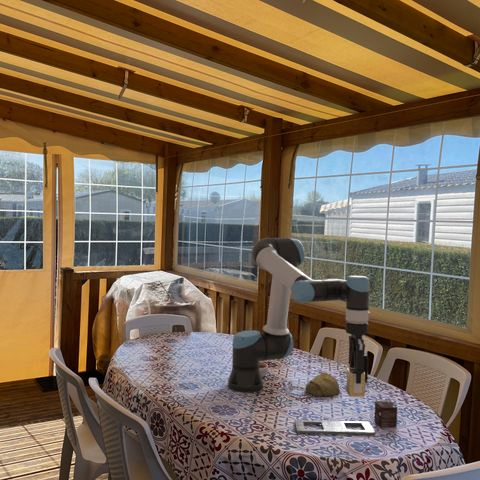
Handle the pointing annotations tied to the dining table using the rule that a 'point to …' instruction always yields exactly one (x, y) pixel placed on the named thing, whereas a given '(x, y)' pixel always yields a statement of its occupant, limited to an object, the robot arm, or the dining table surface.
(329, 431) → the grey board with holes
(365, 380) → the beverage can
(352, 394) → the gold block with hole
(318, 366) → the dining table surface
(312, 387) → the pastry
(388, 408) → the box
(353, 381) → the robot arm
